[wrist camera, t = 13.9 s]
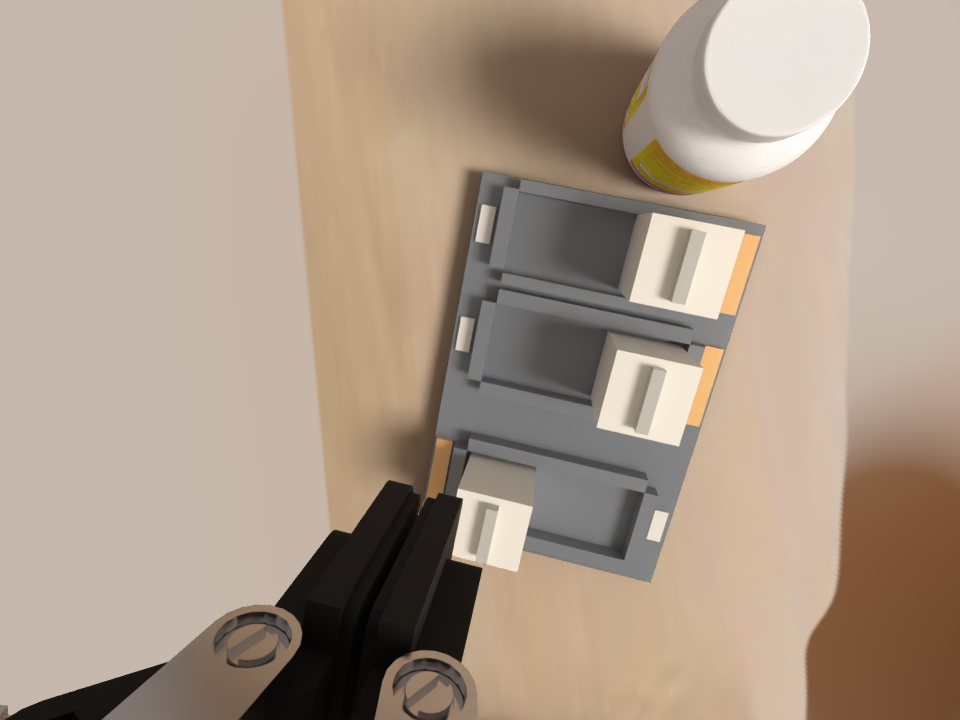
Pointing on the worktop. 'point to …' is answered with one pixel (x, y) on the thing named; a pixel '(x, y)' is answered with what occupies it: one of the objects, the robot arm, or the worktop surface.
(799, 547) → the worktop surface
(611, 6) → the worktop surface
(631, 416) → the white block with ridge
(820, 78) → the supplement bottle
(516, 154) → the worktop surface
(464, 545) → the white switch slider block
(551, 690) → the worktop surface
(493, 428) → the switch board
